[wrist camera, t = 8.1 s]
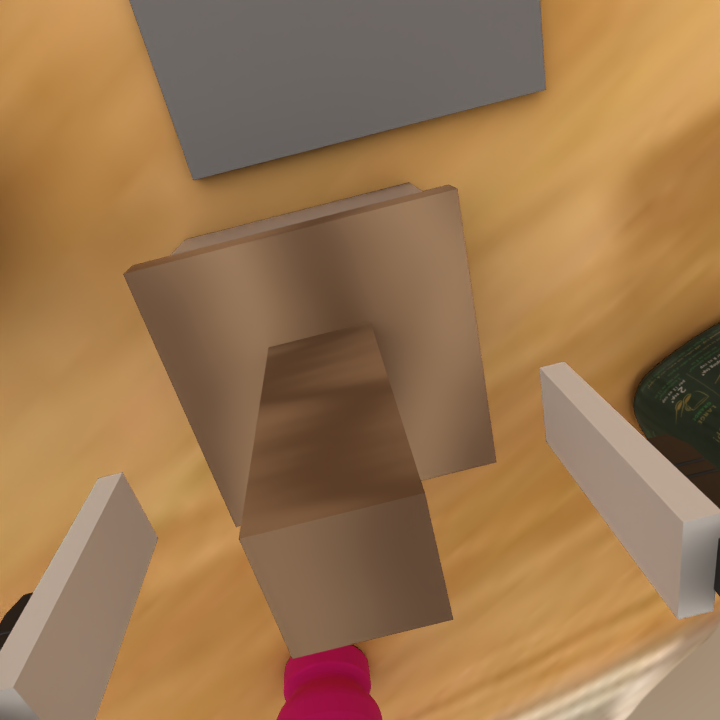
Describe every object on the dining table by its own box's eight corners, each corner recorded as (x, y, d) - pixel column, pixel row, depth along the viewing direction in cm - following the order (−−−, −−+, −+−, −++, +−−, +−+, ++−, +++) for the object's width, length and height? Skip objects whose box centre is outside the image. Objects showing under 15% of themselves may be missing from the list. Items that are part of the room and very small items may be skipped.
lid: (238, 508, 25) (193, 783, 14) (133, 265, 19) (-54, 429, 9) (487, 446, 24) (617, 681, 14) (448, 184, 19) (608, 261, 9)
